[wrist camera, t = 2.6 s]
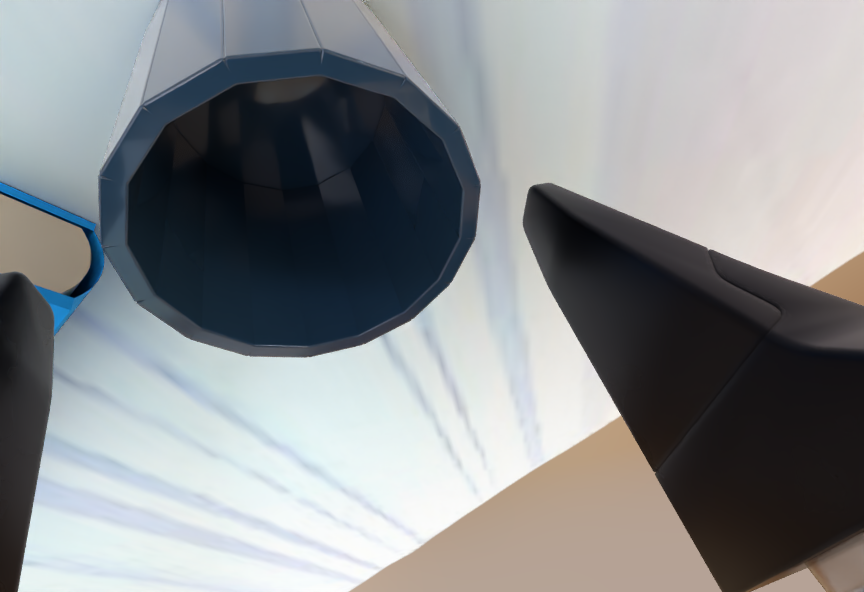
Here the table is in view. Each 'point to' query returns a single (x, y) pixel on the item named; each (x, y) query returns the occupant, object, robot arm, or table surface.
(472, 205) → the cup
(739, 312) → the robot arm
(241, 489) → the table surface
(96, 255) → the book
